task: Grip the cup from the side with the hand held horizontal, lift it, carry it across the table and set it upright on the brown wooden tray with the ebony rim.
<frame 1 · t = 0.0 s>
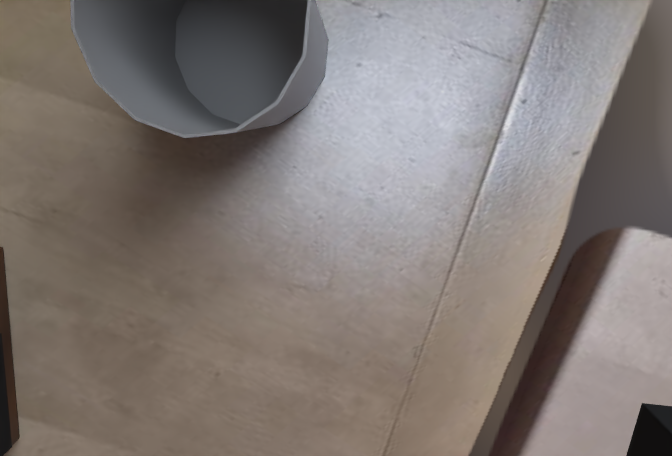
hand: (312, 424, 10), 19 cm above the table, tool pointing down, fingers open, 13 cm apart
cup: (252, 49, 26), on the table
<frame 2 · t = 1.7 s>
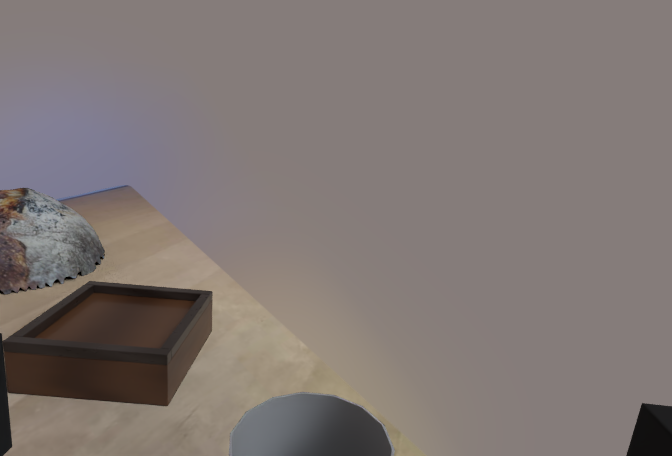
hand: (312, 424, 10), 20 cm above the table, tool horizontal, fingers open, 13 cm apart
bread: (3, 256, 72), on the table
brown wooden tray: (124, 357, 48), on the table
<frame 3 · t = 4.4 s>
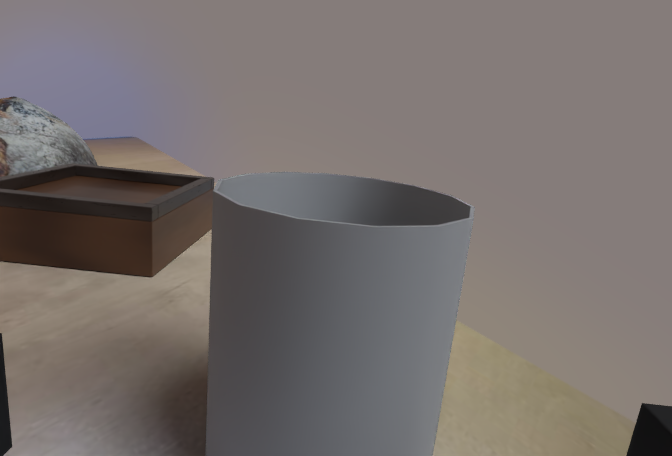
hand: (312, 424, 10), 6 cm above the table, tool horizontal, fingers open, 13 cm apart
cup: (318, 454, 18), on the table
brown wooden tray: (106, 239, 40), on the table
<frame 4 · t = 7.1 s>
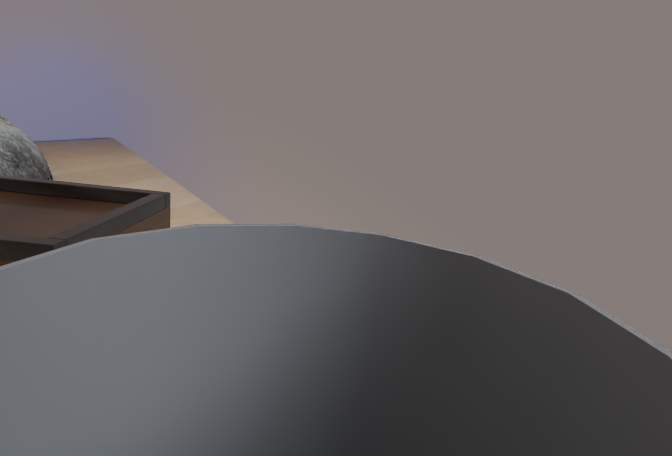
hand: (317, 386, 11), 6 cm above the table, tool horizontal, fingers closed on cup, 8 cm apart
brown wooden tray: (18, 277, 30), on the table
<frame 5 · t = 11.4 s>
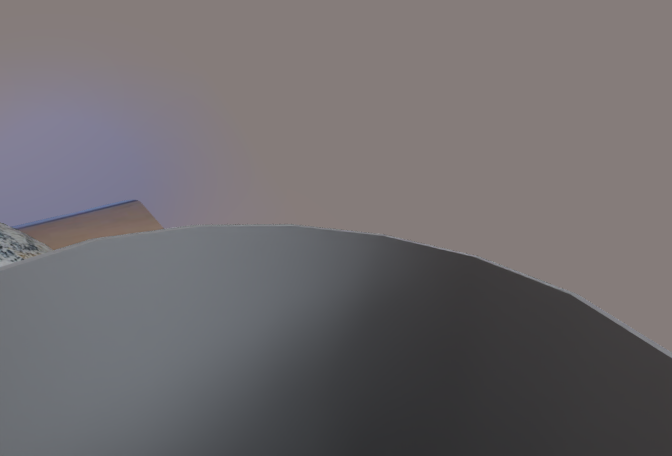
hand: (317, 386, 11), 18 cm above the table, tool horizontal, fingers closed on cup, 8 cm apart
when the fingers open (10 cm above the table, at t = 16.0 s): cup stays where it is, resting on brown wooden tray.
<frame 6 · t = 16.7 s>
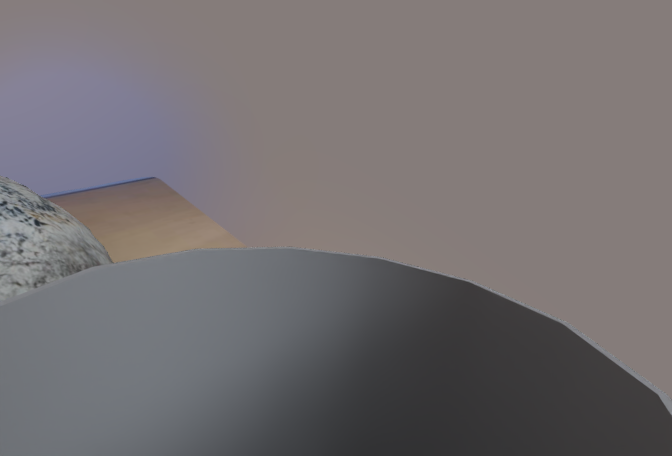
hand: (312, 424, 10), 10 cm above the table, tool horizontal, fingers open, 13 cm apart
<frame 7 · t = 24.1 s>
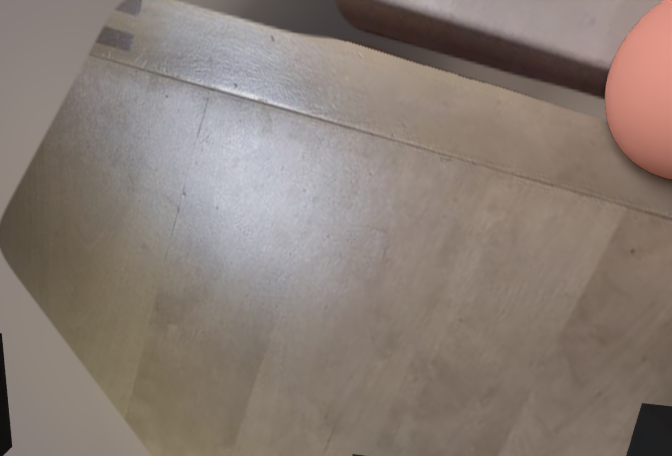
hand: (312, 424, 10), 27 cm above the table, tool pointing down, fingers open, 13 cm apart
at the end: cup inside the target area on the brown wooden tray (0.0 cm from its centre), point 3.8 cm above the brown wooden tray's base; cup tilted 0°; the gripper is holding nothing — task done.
